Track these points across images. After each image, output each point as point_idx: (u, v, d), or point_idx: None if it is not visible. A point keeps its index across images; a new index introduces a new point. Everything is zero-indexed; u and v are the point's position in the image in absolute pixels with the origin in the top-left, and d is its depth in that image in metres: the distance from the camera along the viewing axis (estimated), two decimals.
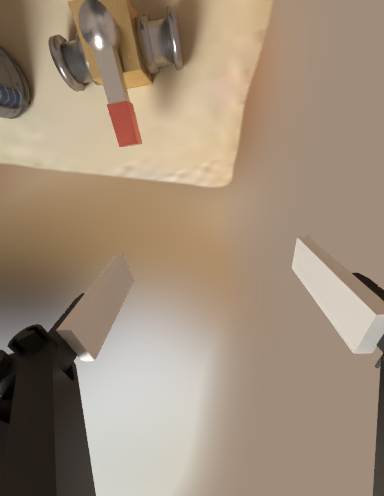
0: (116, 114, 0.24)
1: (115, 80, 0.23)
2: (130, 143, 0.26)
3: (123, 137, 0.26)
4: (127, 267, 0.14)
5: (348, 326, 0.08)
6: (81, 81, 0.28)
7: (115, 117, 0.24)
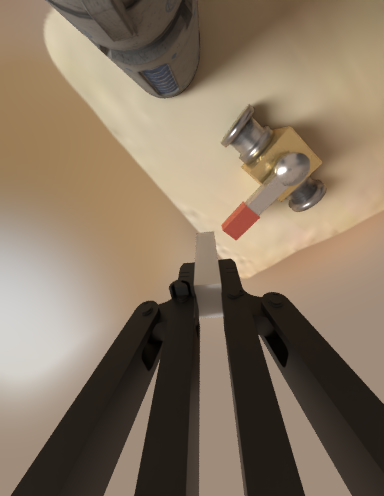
0: (244, 215, 0.26)
1: (267, 201, 0.25)
2: (231, 235, 0.28)
3: (232, 229, 0.27)
4: None
5: None
6: (232, 145, 0.28)
7: (241, 216, 0.26)
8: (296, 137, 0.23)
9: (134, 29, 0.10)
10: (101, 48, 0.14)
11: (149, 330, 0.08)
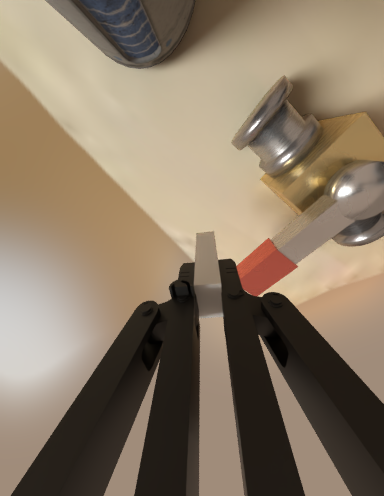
0: (272, 264, 0.16)
1: (313, 244, 0.15)
2: (249, 291, 0.18)
3: (250, 282, 0.17)
4: None
5: None
6: (251, 147, 0.17)
7: (267, 264, 0.16)
8: (373, 133, 0.13)
9: None
10: None
11: (149, 330, 0.08)
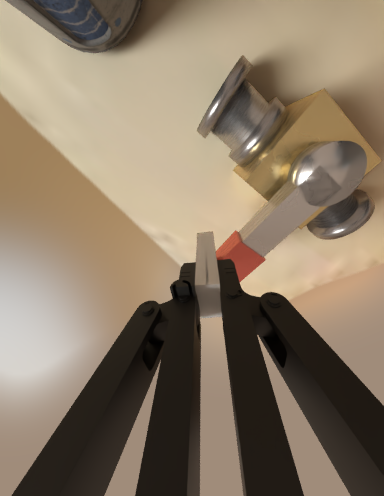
0: (238, 257, 0.15)
1: (278, 234, 0.14)
2: None
3: None
4: None
5: None
6: (216, 135, 0.16)
7: (233, 258, 0.15)
8: (335, 112, 0.12)
9: None
10: None
11: (150, 330, 0.08)
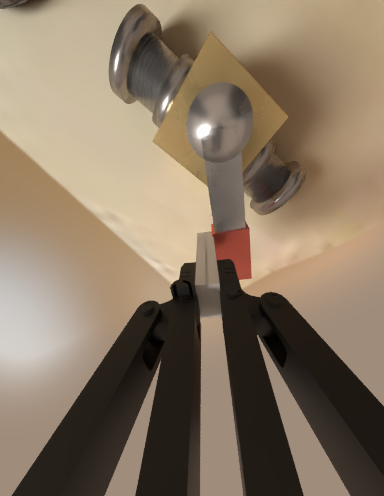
0: (225, 245, 0.15)
1: (235, 202, 0.13)
2: (238, 278, 0.16)
3: None
4: None
5: None
6: (136, 98, 0.16)
7: (222, 249, 0.15)
8: (228, 59, 0.11)
9: None
10: None
11: (150, 330, 0.08)
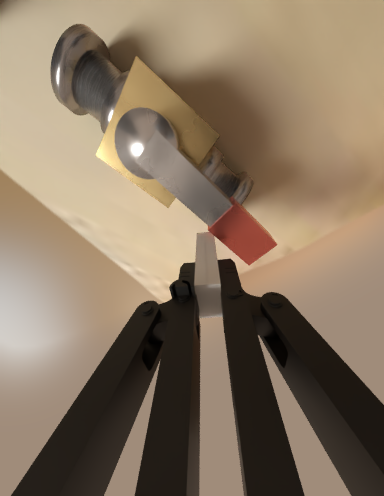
0: (227, 231, 0.14)
1: (205, 191, 0.13)
2: (264, 251, 0.15)
3: (250, 251, 0.15)
4: None
5: None
6: (86, 111, 0.16)
7: (227, 236, 0.14)
8: (156, 82, 0.12)
9: None
10: None
11: (149, 330, 0.08)
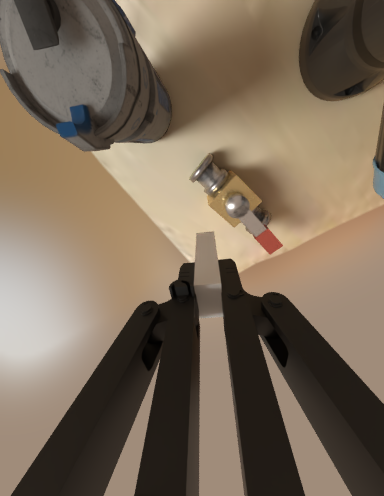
0: (262, 239, 0.33)
1: (256, 223, 0.32)
2: (277, 248, 0.34)
3: (271, 248, 0.34)
4: None
5: None
6: (198, 181, 0.35)
7: (262, 241, 0.34)
8: (241, 182, 0.31)
9: (111, 143, 0.17)
10: None
11: (149, 330, 0.08)
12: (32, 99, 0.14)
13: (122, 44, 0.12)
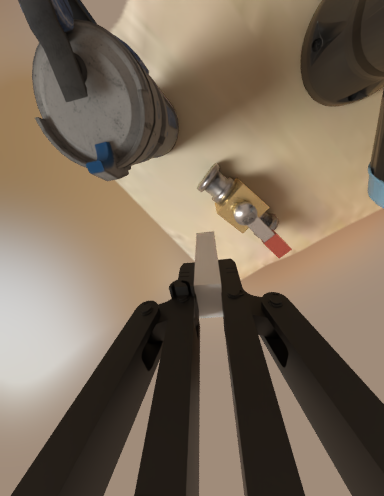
0: (271, 244, 0.34)
1: (265, 229, 0.33)
2: (286, 252, 0.35)
3: (280, 252, 0.35)
4: None
5: None
6: (206, 190, 0.37)
7: (271, 246, 0.34)
8: (248, 191, 0.32)
9: (129, 169, 0.19)
10: None
11: (149, 330, 0.08)
12: (61, 138, 0.16)
13: (140, 90, 0.13)
